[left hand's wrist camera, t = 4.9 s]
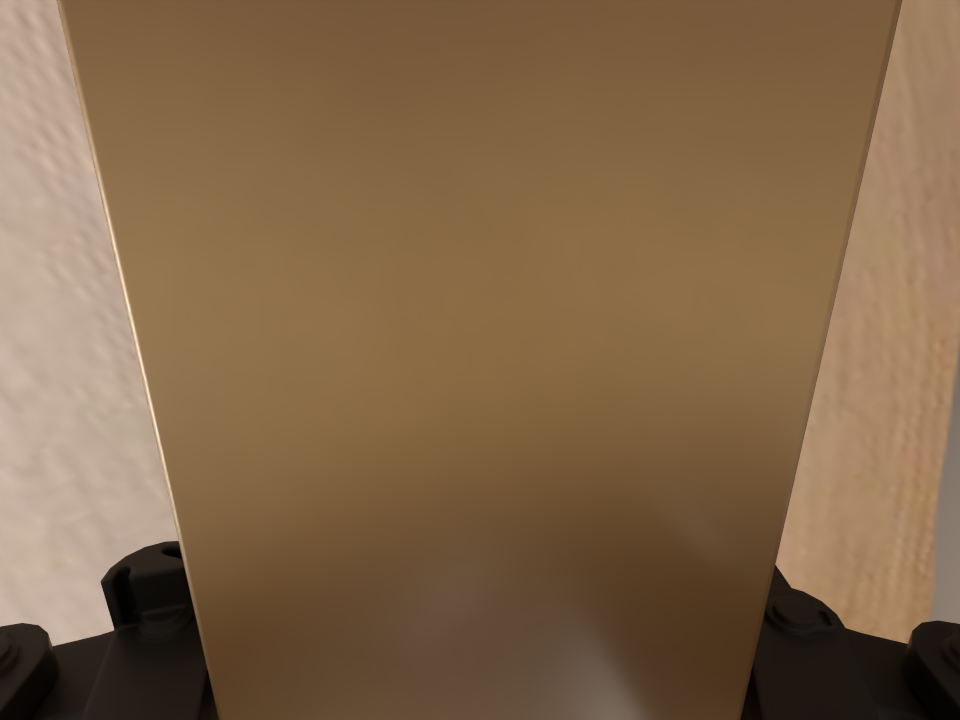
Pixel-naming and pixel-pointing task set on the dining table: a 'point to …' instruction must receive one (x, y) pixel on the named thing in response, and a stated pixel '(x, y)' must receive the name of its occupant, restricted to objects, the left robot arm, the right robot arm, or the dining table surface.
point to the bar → (479, 331)
